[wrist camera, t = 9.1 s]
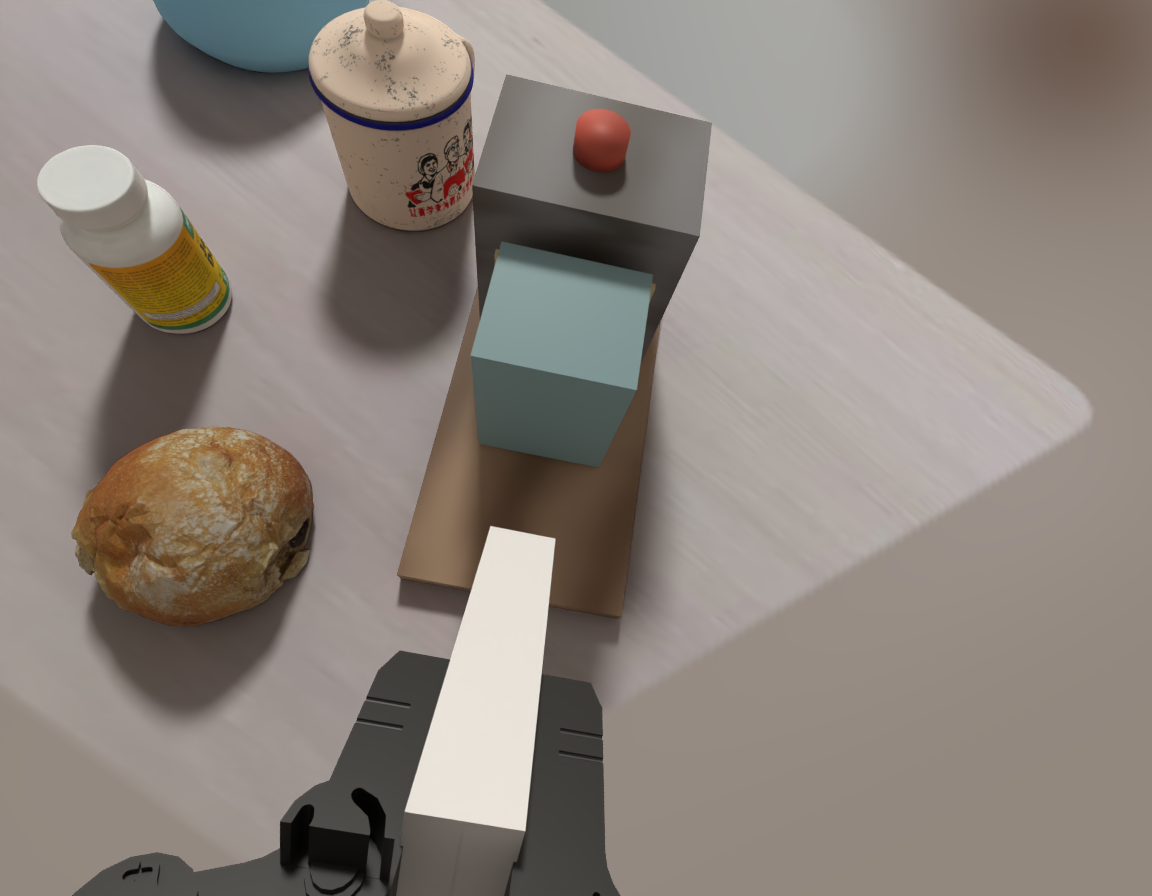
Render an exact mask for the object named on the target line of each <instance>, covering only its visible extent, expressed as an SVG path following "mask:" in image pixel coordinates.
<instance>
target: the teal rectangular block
mask: <svg viewBox="0 0 1152 896" xmlns="http://www.w3.org/2000/svg"><path fill="white" fill-rule="evenodd" d="M652 279H653V275H652V274H648V273H643V272H639V271H634V270H630V269H625V268H620V267H616V266H611V265H607V264H602V263H598V262H593V261H589V260H584V259H579V258H575V257H570V256H566V255H561V254H557V253H552V252H548V251H543V250H538V249H534V248H529V247H525V246H520V245H516V244H511V243H507V242H502V241H501V245H500V249H499V252H498V256H497V260H496V264H495V267H494V271H493V275H492V278H491V282H490V286H489V289H488V293H487V297H486V300H485V304H484V308H483V311H482V315H481V319H480V323H479V326H478V330H477V334H476V337H475V341H474V345H473V348H472V352H471V366H472V377H473V387H474V398H475V409H476V419H477V430H478V441H479V444H482V445H487V446H492V447H497V448H502V449H507V450H512V451H517V452H522V453H527V454H532V455H537V456H542V457H547V458H552V459H557V460H562V461H567V462H572V463H577V464H582V465H587V466H592V467H597V468H599V466H600V464H601V462H602V460H603V458H604V456H605V454H606V452H607V450H608V448H609V445H610V443H611V441H612V439H613V437H614V435H615V433H616V431H617V429H618V427H619V425H620V423H621V421H622V419H623V417H624V415H625V413H626V411H627V409H628V407H629V405H630V403H631V401H632V399H633V397H634V395H635V393H636V391H637V385H638V378H639V371H640V364H641V357H642V349H643V342H644V335H645V328H646V321H647V314H648V307H649V300H650V293H651V286H652Z"/></svg>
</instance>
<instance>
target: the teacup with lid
mask: <svg viewBox="0 0 1152 896" xmlns="http://www.w3.org/2000/svg"><path fill="white" fill-rule="evenodd" d="M474 68H475V59H474V51H473V48H472V45H471V44H470V42H469V41H468V40H467V39H465V38H464V37H462V36H460V35H458V34H455V33H454V32H453V31H452V30H451V29H450V28H449V27H447V26H446V25H445V24H443V23H442V22H440V21H439V20H437V19H435V18H433V17H431V16H429V15H427V14H424V13H422V12H419V11H416V10H412V9H408V8H403V7H397V6H396V5H395V4H393V3H392V2H389V1H386V0H376V1H373V2H371V3H369V4H368V5H367V6H366V7H365V8H360V9H356V10H353V11H350V12H347V13H345V14H343V15H340V16H338V17H337V18H335V19H333V20H332V21H330V22H329V23H328V24H327V25H326V26H324V27H323V28H322V30H321V31H320V32H319V33H318V34H317V36H316V37H315V39H314V41H313V44H312V46H311V49H310V53H309V64H308V72H309V78H310V82H311V84H312V87H313V89H314V91H315V93H316V94H317V96H318V97H319V99H320V100H321V102H322V105H323V108H324V111H325V115H326V118H327V121H328V124H329V127H330V131H331V134H332V137H333V140H334V143H335V146H336V150H337V153H338V156H339V159H340V162H341V166H342V169H343V172H344V175H345V178H346V181H347V185H348V188H349V191H350V194H351V196H352V198H353V200H354V202H355V203H356V204H357V206H358V207H359V208H360V209H361V210H362V211H363V212H364V213H365V214H366V215H367V216H369V217H370V218H372V219H373V220H375V221H377V222H379V223H380V224H383V225H385V226H388V227H391V228H395V229H400V230H409V231H418V230H427V229H432V228H436V227H439V226H441V225H444V224H446V223H448V222H450V221H452V220H453V219H455V218H456V217H457V216H459V215H460V214H461V213H462V212H463V211H464V210H465V208H466V207H467V206H468V204H469V202H470V200H471V198H472V196H473V192H472V184H473V181H474V177H475V175H474V155H473V135H472V116H471V96H470V92H471V89H472V86H473V79H474Z"/></svg>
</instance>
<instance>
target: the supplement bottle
mask: <svg viewBox="0 0 1152 896" xmlns="http://www.w3.org/2000/svg"><path fill="white" fill-rule="evenodd" d="M37 188H38V191H39V194H40V195H41V197H42V198H43V200H44V201H45V202H46V203H47V204H48V205H49V206H50V207H51V208H52V210H53V211H54V212H55V213H56V215H57V216H58V217H59V218H60V230H61V233H62V236H63V238H64V240H65V242H66V243H67V245H68V246H69V247H70V249H71V250H72V251H73V252H74V253H75V254H76V255H77V256H78V257H79V258H80V259H81V260H82V261H83V262H84V263H85V264H86V265H87V266H88V267H89V268H90V269H91V270H92V271H93V272H94V273H95V274H96V275H97V276H98V277H99V278H100V279H101V280H103V281H104V282H105V283H106V284H107V285H108V286H109V287H110V288H111V289H112V290H113V291H114V292H115V293H116V294H117V295H118V296H119V297H120V298H121V299H122V300H123V301H124V302H125V303H126V304H127V305H128V306H129V307H130V308H131V309H132V310H133V311H134V312H135V313H136V314H137V315H138V316H139V317H140V318H141V319H142V320H143V321H145V322H146V323H147V324H148V325H150V326H151V327H153V328H155V329H157V330H160V331H162V332H168V333H180V334H181V333H193V332H197V331H200V330H203V329H205V328H208V327H209V326H211V325H213V324H214V323H216V322H217V321H218V320H219V319H220V318H221V317H222V316H223V315H224V314H225V312H226V311H227V309H228V307H229V305H230V302H231V297H232V288H231V283H230V280H229V279H228V277H227V275H226V274H225V272H224V271H223V269H222V268H221V266H220V265H219V264H218V262H217V261H216V259H215V258H214V256H213V255H212V253H211V252H210V251H209V249H208V247H207V246H206V245H205V243H204V242H203V240H202V239H201V237H200V236H199V234H198V233H197V231H196V230H195V228H194V227H193V226H192V224H191V223H190V221H189V220H188V218H187V217H186V215H185V214H184V212H183V211H182V209H181V208H180V207H179V205H178V204H177V202H176V201H175V200H174V198H173V197H172V196H171V195H170V194H169V193H168V192H167V191H165V190H164V189H163V188H161V187H160V186H158V185H157V184H155V183H153V182H150V181H148V180H145V179H144V178H143V176H142V175H141V174H140V173H139V172H138V170H137V169H136V168H135V167H134V165H133V164H132V163H131V162H130V160H129V159H128V158H127V157H126V156H124V155H123V154H122V153H120V152H118V151H117V150H114V149H112V148H109V147H104V146H96V145H86V146H80V147H74V148H71V149H68V150H66V151H64V152H61V153H59V154H57V155H55V156H54V157H53V158H51V159H50V160H49V161H48V162H47V163H46V164H45V165H44V166H43V168H42V169H41V171H40V173H39V175H38V178H37Z"/></svg>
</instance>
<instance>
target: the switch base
mask: <svg viewBox="0 0 1152 896" xmlns="http://www.w3.org/2000/svg"><path fill="white" fill-rule="evenodd" d="M711 126H712V123H710V122H706V121H702V120H697V119H693V118H689V117H685V116H680V115H676V114H672V113H668V112H663V111H659V110H655V109H651V108H646V107H642V106H638V105H634V104H629V103H625V102H621V101H617V100H613V99H608V98H604V97H600V96H596V95H591V94H587V93H583V92H579V91H574V90H570V89H566V88H562V87H557V86H553V85H549V84H545V83H540V82H536V81H532V80H528V79H523V78H519V77H515V76H511V75H506V77H505V81H504V84H503V87H502V90H501V94H500V97H499V100H498V103H497V106H496V110H495V113H494V116H493V119H492V123H491V126H490V129H489V132H488V135H487V139H486V142H485V145H484V148H483V152H482V155H481V158H480V161H479V165H478V168H477V171H476V174H475V177H474V181H473V184H472V192H473V210H474V227H475V245H476V262H477V280H478V287H477V291H476V295H475V298H474V302H473V305H472V309H471V312H470V316H469V319H468V323H467V327H466V330H465V334H464V337H463V341H462V344H461V348H460V352H459V355H458V359H457V362H456V366H455V369H454V373H453V377H452V380H451V384H450V387H449V391H448V394H447V398H446V402H445V405H444V409H443V412H442V416H441V419H440V423H439V427H438V430H437V434H436V437H435V441H434V444H433V448H432V451H431V455H430V459H429V462H428V466H427V469H426V473H425V476H424V480H423V484H422V487H421V491H420V494H419V498H418V501H417V505H416V509H415V512H414V516H413V519H412V523H411V526H410V530H409V534H408V537H407V541H406V544H405V548H404V551H403V555H402V559H401V562H400V566H399V569H398V573H397V575H398V576H399V577H400V578H402V579H408V580H413V581H419V582H424V583H429V584H435V585H440V586H446V587H451V588H456V589H462V590H467V591H471V589H472V586H473V583H474V579H475V576H476V573H477V570H478V566H479V563H480V560H481V556H482V553H483V550H484V546H485V543H486V540H487V536H488V533H489V530H490V526H493V527H498V528H503V529H508V530H513V531H519V532H524V533H529V534H534V535H539V536H544V537H549V538H555V548H554V558H553V567H552V577H551V587H550V596H549V606H553V607H559V608H564V609H569V610H575V611H580V612H586V613H591V614H596V615H602V616H607V617H613V618H619V617H622V610H623V602H624V595H625V587H626V579H627V572H628V564H629V556H630V549H631V541H632V533H633V526H634V518H635V510H636V503H637V495H638V488H639V480H640V472H641V465H642V457H643V449H644V442H645V434H646V426H647V419H648V411H649V404H650V396H651V388H652V381H653V373H654V365H655V358H656V350H657V342H658V335H659V327H660V321H661V319H662V317H663V314H664V312H665V310H666V308H667V306H668V304H669V301H670V299H671V297H672V295H673V293H674V291H675V288H676V286H677V284H678V282H679V280H680V278H681V275H682V273H683V271H684V269H685V267H686V265H687V262H688V260H689V258H690V256H691V254H692V252H693V249H694V247H695V245H696V243H697V241H698V239H699V237H700V228H701V219H702V209H703V200H704V191H705V182H706V172H707V163H708V154H709V144H710V135H711ZM501 241H502V242H507V243H511V244H516V245H520V246H525V247H529V248H534V249H538V250H543V251H548V252H552V253H557V254H561V255H566V256H570V257H575V258H579V259H584V260H589V261H593V262H598V263H602V264H607V265H611V266H616V267H620V268H625V269H630V270H634V271H639V272H643V273H648V274H652V275H653V279H652V286H651V293H650V300H649V307H648V314H647V321H646V328H645V335H644V342H643V349H642V357H641V364H640V371H639V378H638V385H637V391H636V393H635V395H634V397H633V399H632V401H631V403H630V405H629V407H628V409H627V411H626V413H625V415H624V417H623V419H622V421H621V423H620V425H619V427H618V429H617V431H616V433H615V435H614V437H613V439H612V441H611V443H610V445H609V448H608V450H607V452H606V454H605V456H604V458H603V460H602V462H601V464H600V466H599V468H597V467H592V466H587V465H582V464H577V463H572V462H567V461H562V460H557V459H552V458H547V457H542V456H537V455H532V454H527V453H522V452H517V451H512V450H507V449H502V448H497V447H492V446H487V445H482V444H479V441H478V430H477V419H476V409H475V398H474V387H473V377H472V366H471V352H472V348H473V345H474V341H475V337H476V334H477V330H478V326H479V323H480V319H481V315H482V311H483V308H484V304H485V300H486V297H487V293H488V289H489V286H490V282H491V278H492V275H493V271H494V267H495V264H496V260H497V256H498V252H499V249H500V245H501Z"/></svg>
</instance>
